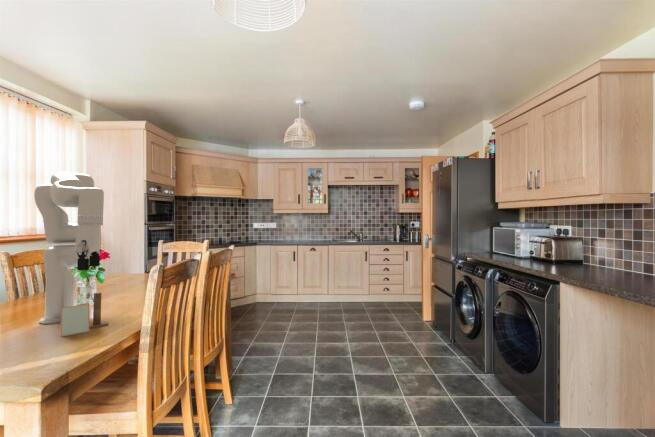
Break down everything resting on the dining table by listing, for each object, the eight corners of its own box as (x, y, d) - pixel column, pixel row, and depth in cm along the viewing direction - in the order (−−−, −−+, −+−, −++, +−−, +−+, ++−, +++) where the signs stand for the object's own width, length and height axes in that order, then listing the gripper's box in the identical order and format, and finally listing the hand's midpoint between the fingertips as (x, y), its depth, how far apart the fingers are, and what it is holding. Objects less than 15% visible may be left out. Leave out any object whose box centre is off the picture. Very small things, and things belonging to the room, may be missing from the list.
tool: (84, 329, 121) (85, 293, 121) (106, 326, 126) (107, 291, 126) (86, 332, 118) (87, 295, 118) (108, 328, 123) (109, 292, 123)
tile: (60, 336, 111) (61, 307, 112) (88, 331, 116) (88, 304, 118) (60, 336, 110) (61, 307, 111) (89, 331, 115) (89, 303, 117)
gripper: (88, 221, 122) (86, 264, 122) (66, 221, 105) (64, 272, 105) (110, 221, 124) (109, 264, 124) (92, 221, 108) (91, 271, 107)
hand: (88, 267), depth 115 cm, fingers open, 9 cm apart
